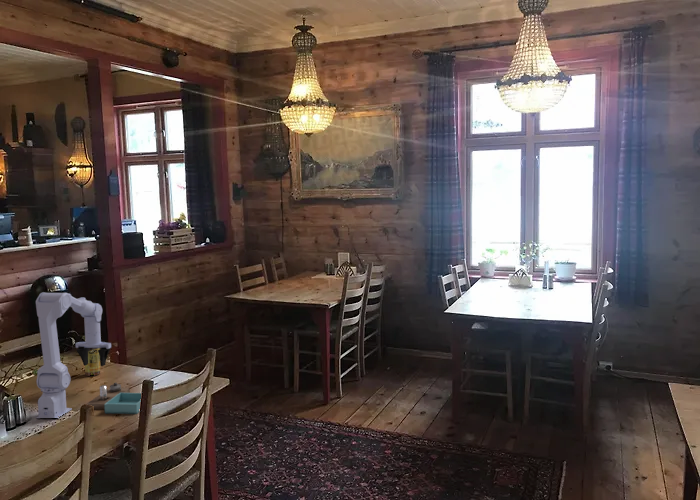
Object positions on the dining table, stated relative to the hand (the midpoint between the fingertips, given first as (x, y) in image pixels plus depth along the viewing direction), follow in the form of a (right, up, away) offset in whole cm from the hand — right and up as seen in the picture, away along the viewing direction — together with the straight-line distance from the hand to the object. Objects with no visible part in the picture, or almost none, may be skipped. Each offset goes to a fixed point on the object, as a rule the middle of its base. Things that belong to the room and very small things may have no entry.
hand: (94, 365), depth 232 cm
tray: (+22, -12, -20) cm, 32 cm away
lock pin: (+11, -12, -16) cm, 23 cm away
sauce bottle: (-10, -8, +20) cm, 24 cm away
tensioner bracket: (+11, -11, -12) cm, 20 cm away
